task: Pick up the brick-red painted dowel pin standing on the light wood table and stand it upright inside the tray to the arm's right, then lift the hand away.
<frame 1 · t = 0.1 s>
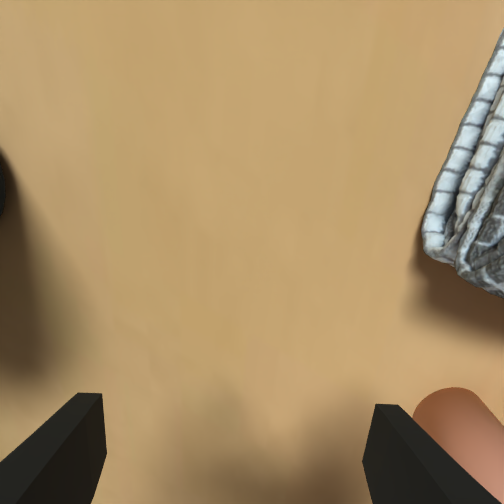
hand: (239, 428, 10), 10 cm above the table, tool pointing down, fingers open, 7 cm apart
dowel: (447, 416, 23), on the table
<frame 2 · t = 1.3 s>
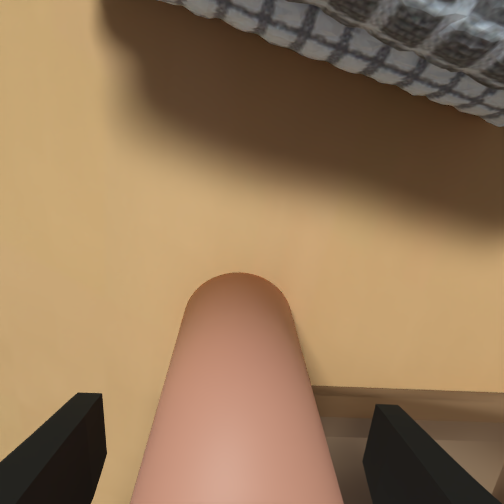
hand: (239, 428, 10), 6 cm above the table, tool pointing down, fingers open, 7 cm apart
dowel: (238, 322, 15), on the table
tray: (382, 501, 19), on the table
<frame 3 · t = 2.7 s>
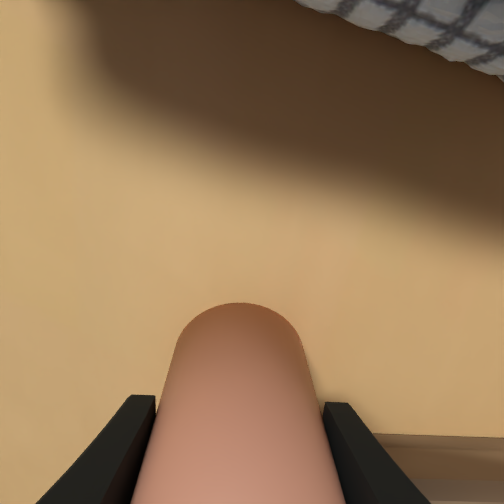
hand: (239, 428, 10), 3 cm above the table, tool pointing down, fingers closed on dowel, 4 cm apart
dowel: (239, 360, 12), on the table, touching gripper
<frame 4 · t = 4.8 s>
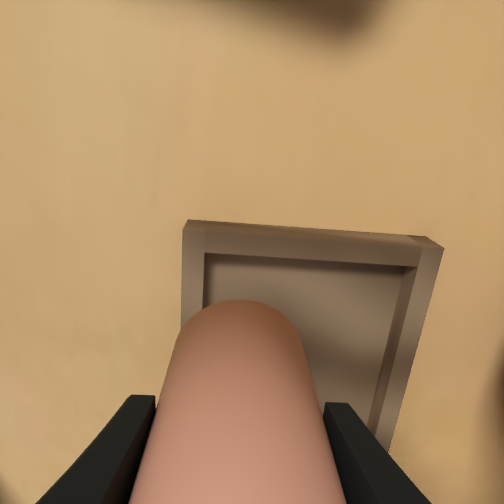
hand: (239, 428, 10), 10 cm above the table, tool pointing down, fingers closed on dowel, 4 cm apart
dowel: (238, 357, 12), point 7 cm above the table, touching gripper
tray: (292, 347, 21), on the table
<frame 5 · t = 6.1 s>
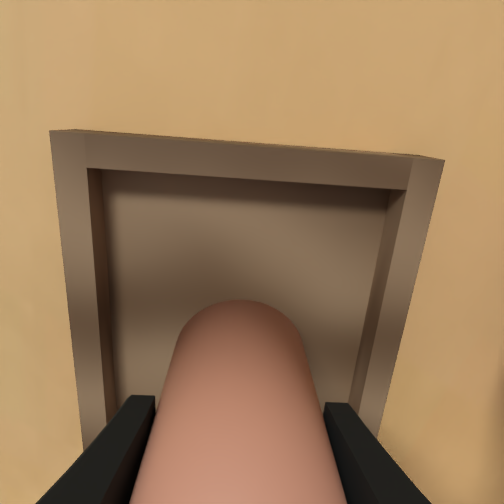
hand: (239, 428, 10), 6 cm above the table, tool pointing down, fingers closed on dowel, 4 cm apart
dowel: (239, 357, 12), point 3 cm above the table, touching gripper
tray: (238, 318, 15), on the table
when the fingers open (5 cm above the table, at t = 7.2 s): dowel drops 1 cm, resting on tray.
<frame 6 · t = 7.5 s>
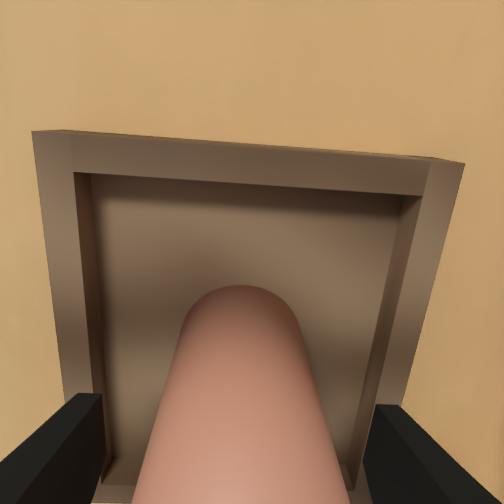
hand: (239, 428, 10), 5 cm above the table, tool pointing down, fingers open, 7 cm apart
dowel: (240, 338, 13), point 1 cm above the table, touching tray
tray: (239, 331, 14), on the table
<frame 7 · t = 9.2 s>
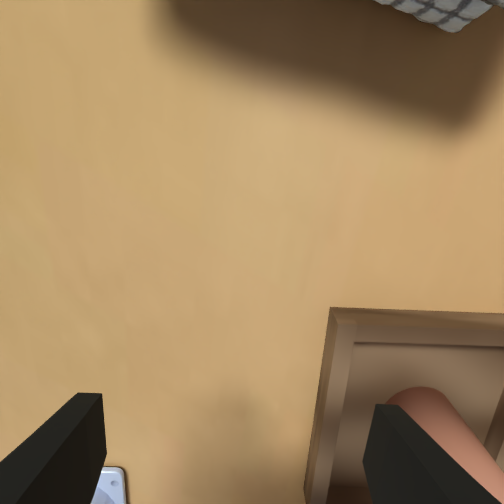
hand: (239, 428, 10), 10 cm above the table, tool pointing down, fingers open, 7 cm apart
dowel: (415, 416, 22), point 1 cm above the table, touching tray
tray: (409, 409, 23), on the table
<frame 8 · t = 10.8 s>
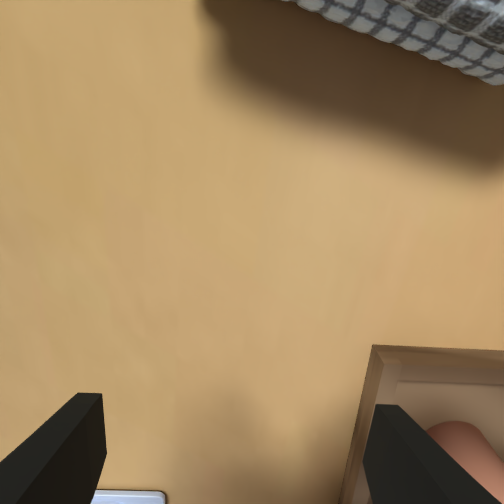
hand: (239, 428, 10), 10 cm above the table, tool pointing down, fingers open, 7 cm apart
dowel: (448, 447, 23), point 1 cm above the table, touching tray
tray: (442, 440, 24), on the table
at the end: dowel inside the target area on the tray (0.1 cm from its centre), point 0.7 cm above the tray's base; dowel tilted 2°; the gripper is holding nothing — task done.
